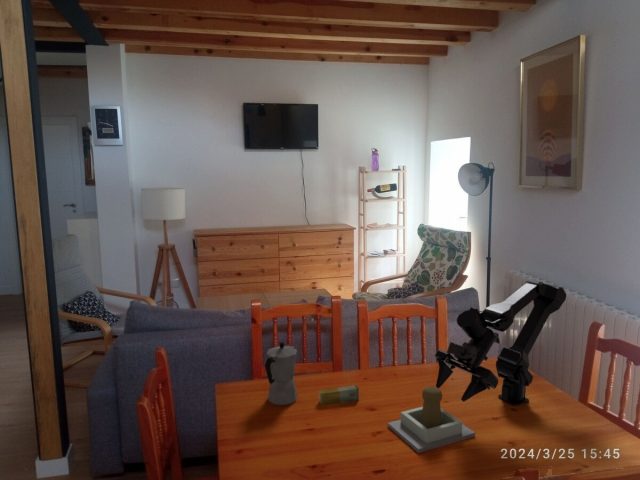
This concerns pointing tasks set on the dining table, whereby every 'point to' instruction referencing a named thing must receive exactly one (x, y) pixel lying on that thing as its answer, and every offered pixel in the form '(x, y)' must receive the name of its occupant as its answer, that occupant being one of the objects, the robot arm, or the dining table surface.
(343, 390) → the medication box
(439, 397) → the cork
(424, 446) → the socket stand
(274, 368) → the coffeepot
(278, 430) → the dining table surface
